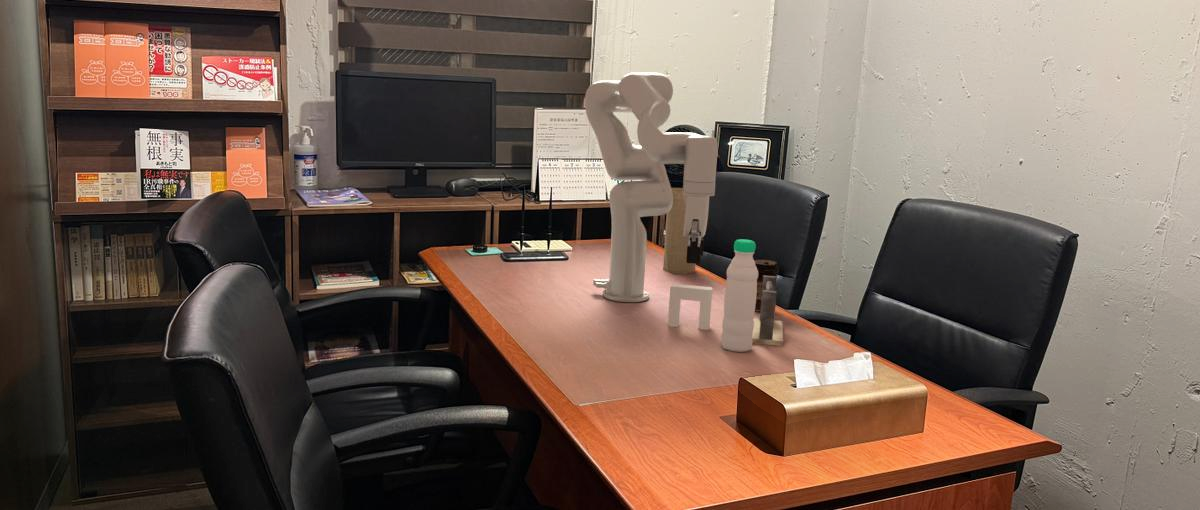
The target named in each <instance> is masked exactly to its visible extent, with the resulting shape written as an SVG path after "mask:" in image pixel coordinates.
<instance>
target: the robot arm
mask: <svg viewBox="0 0 1200 510" xmlns="http://www.w3.org/2000/svg"><path fill="white" fill-rule="evenodd" d="M673 93H674V87H673V84H672V81H671V79H670V78H669V77H667V75H665V74H662V73H659V72H642V71H641V72H640V71H639V72H638V71H637V72H630V73H627V74H625V75H623V76H622V77H621V79H620V80H611V79H610V80H609V79H608V80H599V81H596V82H593V83H592V84H590V85H589V86H588V88H587V89H586V92H585V96H584V108H585V113H586V117H587V120H588V122H589V124H590V127H592V130H593V132H594V135H595V136H596V139H597V141H598V142H597V143H598V147H599V149H600V153H601V156H602V160H603V163H604V166H605V170H606V172H607V175H608V176H609V178H611V179H612V180H614V181H622V182H619V183H617V184H615V185H614V186H613V187H612V188H611V190H610V193H609V206H610V207H609V208H610V215H611V216H610V217H611V233H610V234H611V235H610V236H611V237H610V256H609V257H610V260H609V275H608V276H609V277H608V278H605V279H601V278H600V279H598V278H594V279H593V283H592V285H593V286H594V287H595V288H598V289H601V288H602V289H604V290H602V296H603V297H604V298H605V299H607V300H610V301H614V302H619V303H638V302H640V303H641V302H644V301H647V300H648V299H649V298H650V293H649V291H647V290H645V289H644V288H645V287H644V286H645V285H644V284H645V275H646V274H645V273H646V272H645V271H646V270H645V269H646V259H647V258H646V256H647V254H646V253H647V239H648V238H647V237H648V236H647V235H648V234H647V230H646V228H645V225H644V224H643V221H642V220H641V218H644V217H654V216H655V217H656V216H664V215H667V213H668V212H669V211H670V210H671V208H672V204H673V194H672V190H671V188H672V186H671V183H670V180H669V177H668V174H667V170H666V166H665V165H678V164H679V165H683V181H682V184H683V185H682V188H683V194H684V195H687V199H686V207H685V221H684V233H683V235H684V236H685V237H686V236H687V235H688V234H689V241H688V246H687V259H686V262H687V263H693V264H697V265H700V263H701V257H703V255H704V243H705V239H704V236H705V235H706V231H707V227H708V218H709V207H710V197H714V196H715V195H716V194H715V192H716V178H717V177H716V176H717V175H716V174H717V164H718V163H717V161H718V160H717V159H718V140H717V138H716V137H715V136H711V135H702V134H698V133H696V132H673V131H672V132H670V131H669V132H662V131H661V130H660V129H659V128H660V127H661V126H664V124H665V123H666V122H668V119H669V117H670V115H671V105H670V104H669V103H670V101H671V100H672V98H673ZM614 113H632V114H633V115H634V116H635V117H636V119H637V121H638V124H637V128H636V133H637V139H638V143H639V144H633V143H632V141H631V139H630V135H629V131H628V130H627V128H626V126H625V125H624V123H623V122H622V121H621V120H620V119H619V118H618V117H617V116H616V115H615V114H614Z"/></svg>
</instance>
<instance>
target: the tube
mask: <svg viewBox="0 0 1200 510" xmlns="http://www.w3.org/2000/svg"><path fill="white" fill-rule="evenodd" d="M671 190H672V194H673V204H672V208H671V210H670V211H669V212H668V213H666V216H665V217H666V218H665V219H666V220H665V234H664V249H663V250H664V251H663V263H662V265H663V267H662V269H663V271H665V272H668V273H671V274H683V275H685V274H693V273H694V272H696V264H693V263H687V262H686V259H687V246H688V241H689V234H688V235H687V236H686V237H685V236H684V235H683V233H684V221H685V207H686V199H687V195H684V194H683V187H671Z"/></svg>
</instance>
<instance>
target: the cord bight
mask: <svg viewBox="0 0 1200 510" xmlns="http://www.w3.org/2000/svg"><path fill="white" fill-rule="evenodd" d="M712 297H713V287H712V286H702V285H689V284H681V283H680V284H679V283H671V284H670V286H669V300H668V301H669V302H668V315H667V316H668V317H667V318H668V319H667V327H675V328H678V327H679V325H680V314H681V302H682V301H683V300H684V301H695V302H699V303H700V305H699V317H698V328H697V329H698V330H702V331H703V330H704V331H710V326H711V325H710V324H711V311H712Z"/></svg>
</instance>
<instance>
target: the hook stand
mask: <svg viewBox="0 0 1200 510" xmlns="http://www.w3.org/2000/svg"><path fill="white" fill-rule="evenodd" d="M775 281H776V282H777V278H776V276H765V275H763V286H762V297H761V308H760V311H759V318H757V317H756V318H753V319H754V328H753V333H752V337H753V340H752V344H758V345H768V346H777V347H784V334H783V333H784V332H783V321H782V320H777V319H776V320H775V314H776V304H777V295H778V293H777V290H776V286H775Z"/></svg>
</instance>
